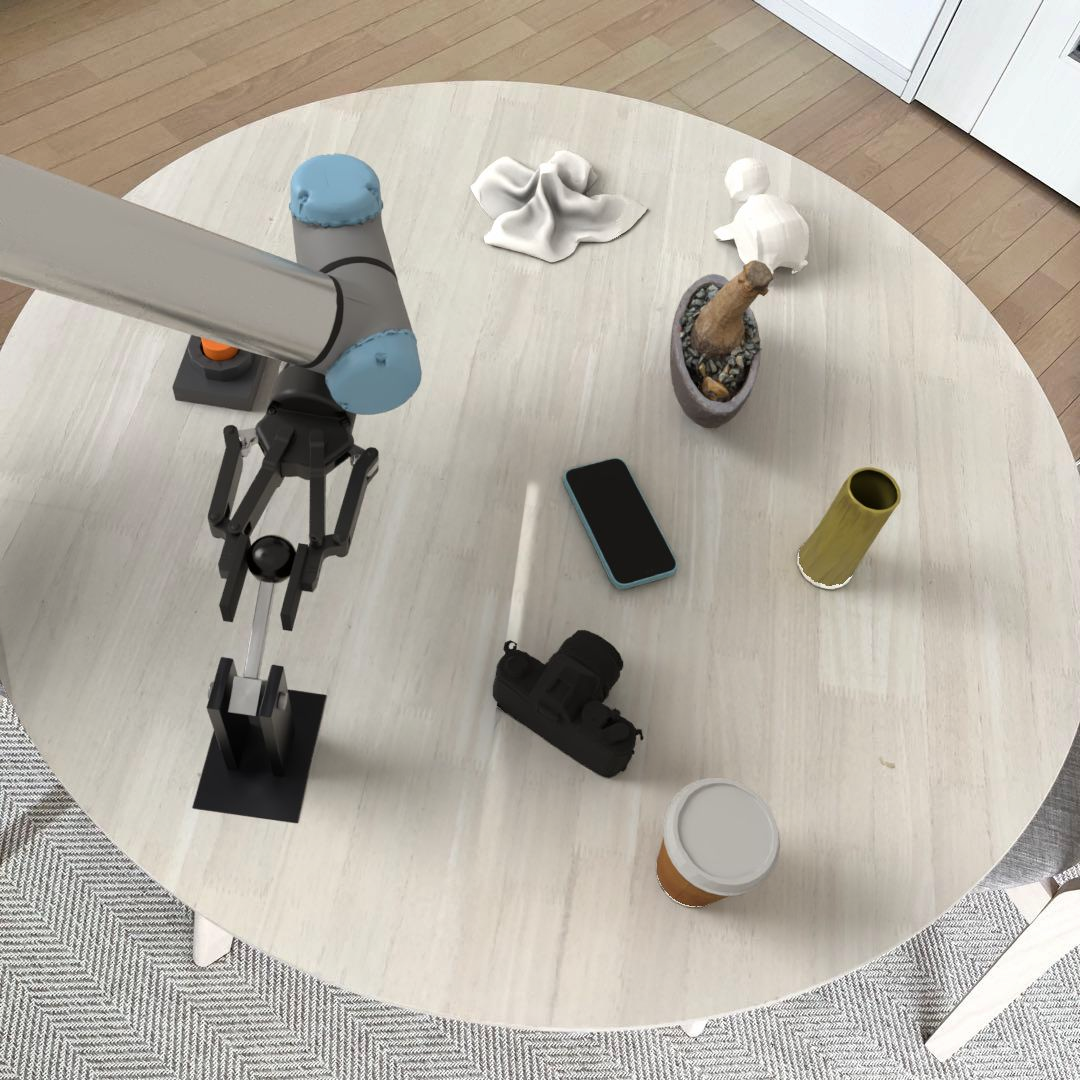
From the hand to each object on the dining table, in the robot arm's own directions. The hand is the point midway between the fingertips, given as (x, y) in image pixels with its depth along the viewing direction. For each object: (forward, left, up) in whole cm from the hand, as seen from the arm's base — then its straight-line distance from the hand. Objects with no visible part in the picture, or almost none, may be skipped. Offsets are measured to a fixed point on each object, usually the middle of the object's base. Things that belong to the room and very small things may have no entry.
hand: (256, 617), depth 88 cm
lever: (0, +1, -4) cm, 4 cm away
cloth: (+19, +71, -18) cm, 76 cm away
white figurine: (+44, +70, -18) cm, 85 cm away
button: (-14, +37, -14) cm, 42 cm away
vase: (+52, +24, -18) cm, 60 cm away
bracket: (0, -5, -18) cm, 18 cm away
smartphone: (+30, +25, -18) cm, 43 cm away
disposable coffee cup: (+39, -10, -18) cm, 44 cm away
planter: (+38, +45, -18) cm, 62 cm away
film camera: (+27, +4, -18) cm, 33 cm away
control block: (-14, +37, -18) cm, 44 cm away
